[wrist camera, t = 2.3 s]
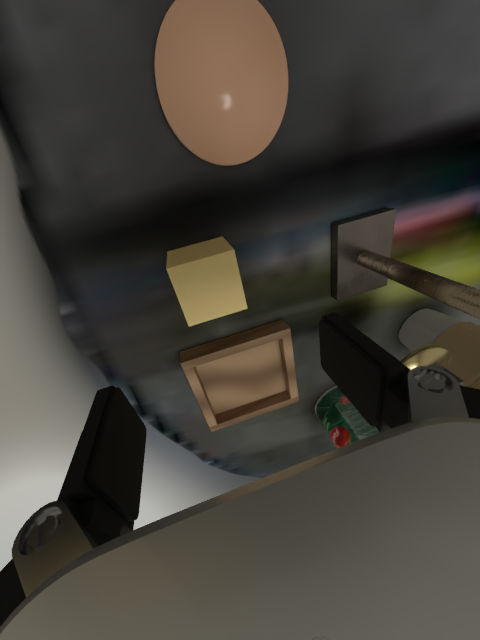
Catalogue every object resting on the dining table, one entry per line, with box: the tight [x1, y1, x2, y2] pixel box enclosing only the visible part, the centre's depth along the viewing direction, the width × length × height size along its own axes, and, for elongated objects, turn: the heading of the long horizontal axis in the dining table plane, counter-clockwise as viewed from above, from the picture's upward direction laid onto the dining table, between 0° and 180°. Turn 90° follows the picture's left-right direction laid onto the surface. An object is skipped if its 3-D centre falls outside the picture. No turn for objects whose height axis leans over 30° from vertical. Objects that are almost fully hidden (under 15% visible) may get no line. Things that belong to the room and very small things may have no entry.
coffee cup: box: [398, 308, 480, 387], centre depth 27 cm, size 9×9×15 cm
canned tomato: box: [315, 385, 380, 449], centre depth 33 cm, size 8×8×11 cm
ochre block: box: [166, 236, 247, 326], centre depth 21 cm, size 5×5×5 cm
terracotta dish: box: [155, 0, 288, 166], centre depth 17 cm, size 9×9×1 cm
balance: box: [331, 208, 480, 389], centre depth 18 cm, size 23×6×18 cm, turn 12°
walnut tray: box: [180, 319, 299, 432], centre depth 29 cm, size 12×12×2 cm
